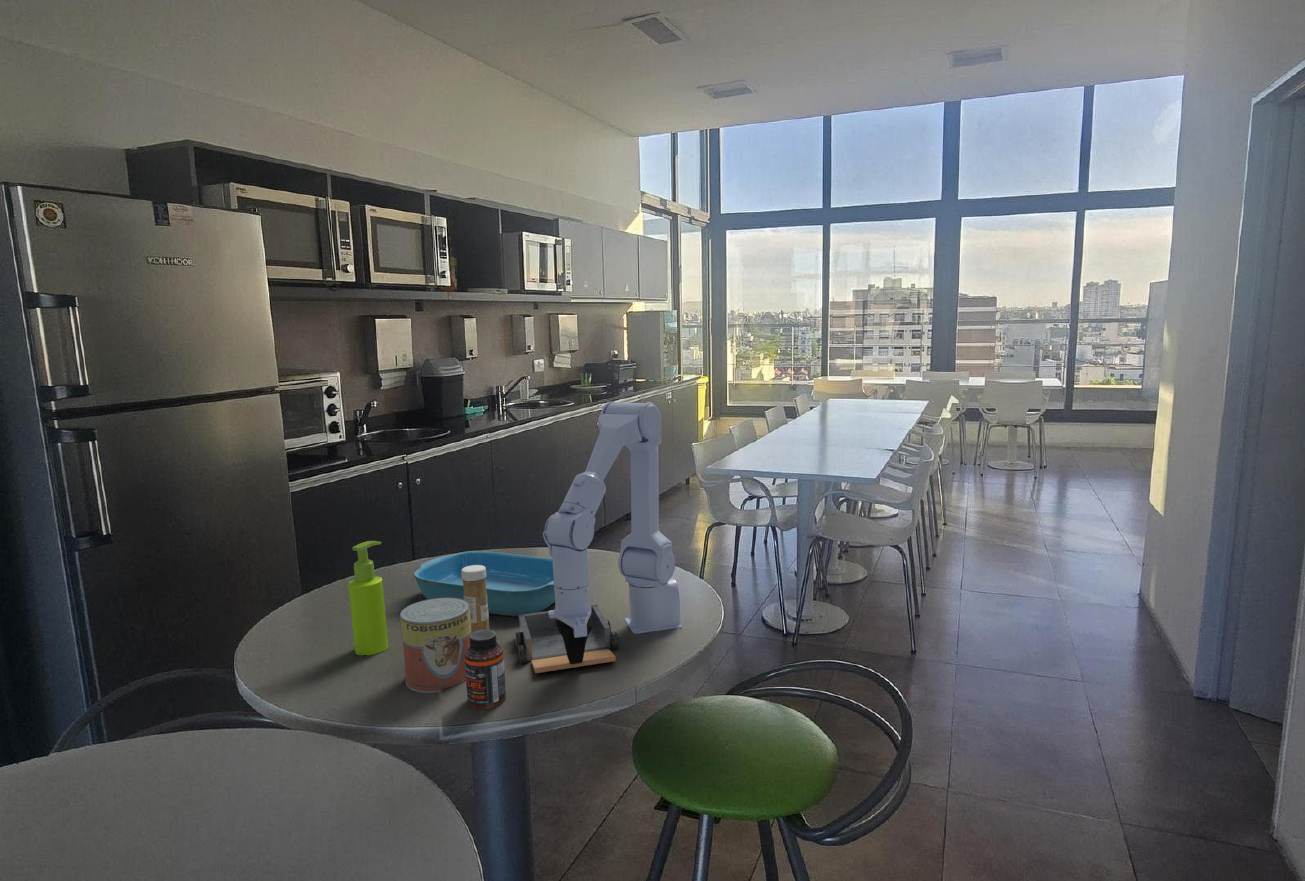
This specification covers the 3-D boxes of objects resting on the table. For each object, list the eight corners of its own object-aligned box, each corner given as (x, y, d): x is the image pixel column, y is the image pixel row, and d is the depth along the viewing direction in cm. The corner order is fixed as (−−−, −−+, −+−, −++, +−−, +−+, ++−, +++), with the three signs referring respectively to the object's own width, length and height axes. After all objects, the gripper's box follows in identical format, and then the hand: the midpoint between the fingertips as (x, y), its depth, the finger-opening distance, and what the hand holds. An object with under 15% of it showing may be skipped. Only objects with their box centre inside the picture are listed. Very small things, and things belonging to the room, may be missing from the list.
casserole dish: (595, 590, 168) (594, 559, 167) (542, 628, 148) (540, 593, 147) (460, 575, 183) (458, 546, 182) (395, 607, 163) (392, 575, 162)
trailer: (603, 625, 148) (602, 603, 147) (618, 652, 135) (617, 628, 134) (513, 638, 143) (512, 615, 142) (521, 667, 130) (519, 642, 130)
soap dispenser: (399, 642, 143) (390, 540, 140) (371, 657, 137) (361, 550, 134) (375, 638, 145) (366, 537, 143) (347, 652, 139) (337, 547, 136)
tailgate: (608, 649, 134) (615, 656, 129) (608, 653, 134) (615, 661, 129) (531, 660, 131) (535, 668, 125) (531, 665, 131) (535, 673, 125)
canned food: (412, 699, 121) (406, 627, 119) (400, 672, 130) (394, 605, 129) (482, 682, 126) (477, 613, 124) (465, 657, 136) (461, 593, 134)
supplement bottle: (459, 709, 117) (454, 639, 115) (482, 691, 122) (477, 624, 121) (492, 715, 115) (487, 644, 113) (513, 697, 120) (509, 629, 118)
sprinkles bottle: (494, 636, 144) (489, 568, 143) (471, 642, 142) (465, 573, 140) (485, 628, 148) (480, 562, 146) (462, 634, 146) (457, 567, 144)
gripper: (541, 573, 131) (545, 648, 133) (553, 601, 117) (558, 684, 119) (581, 569, 133) (585, 642, 135) (598, 596, 119) (602, 677, 121)
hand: (575, 662), depth 127 cm, fingers closed
